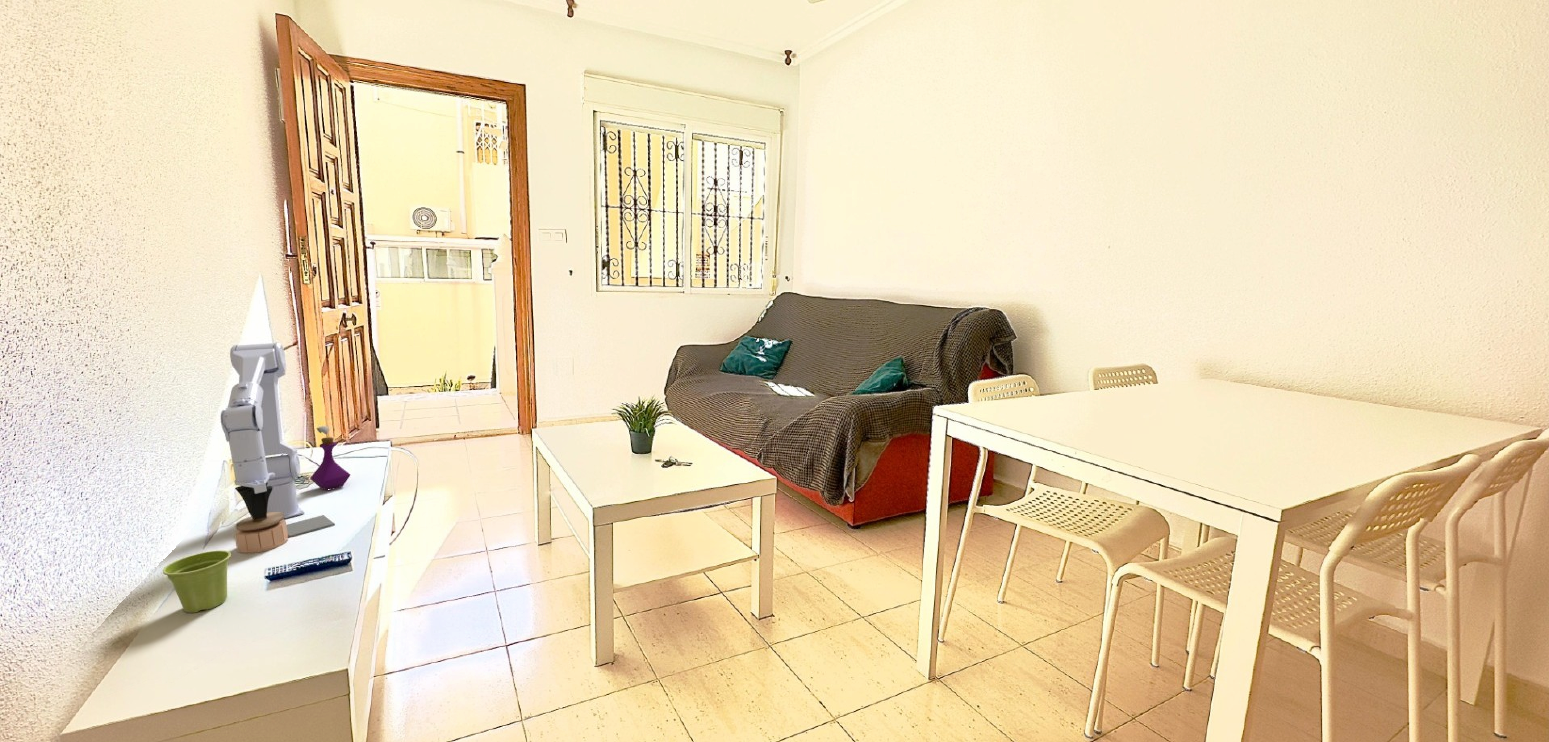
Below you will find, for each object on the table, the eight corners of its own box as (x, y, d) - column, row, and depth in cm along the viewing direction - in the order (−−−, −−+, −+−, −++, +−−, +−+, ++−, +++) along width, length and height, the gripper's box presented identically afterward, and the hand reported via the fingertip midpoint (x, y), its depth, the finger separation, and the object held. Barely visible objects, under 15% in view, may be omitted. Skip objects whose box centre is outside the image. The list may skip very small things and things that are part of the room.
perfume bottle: (352, 485, 185) (343, 425, 182) (323, 493, 179) (314, 431, 176) (340, 481, 189) (331, 422, 186) (311, 489, 183) (301, 428, 180)
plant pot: (198, 620, 114) (190, 575, 112) (157, 616, 116) (148, 571, 114) (251, 594, 123) (243, 551, 121) (212, 590, 125) (204, 548, 123)
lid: (232, 524, 144) (228, 504, 143) (277, 512, 151) (274, 493, 150) (242, 533, 139) (238, 512, 138) (288, 520, 145) (285, 500, 145)
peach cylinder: (233, 546, 145) (230, 528, 144) (282, 533, 152) (279, 515, 151) (242, 557, 139) (239, 538, 139) (292, 543, 146) (289, 524, 145)
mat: (280, 527, 155) (279, 526, 155) (323, 516, 162) (323, 514, 162) (289, 537, 149) (289, 535, 149) (334, 525, 156) (334, 523, 156)
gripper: (279, 459, 141) (288, 518, 143) (263, 449, 150) (272, 504, 152) (238, 468, 135) (248, 528, 137) (224, 456, 145) (234, 513, 147)
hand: (258, 516), depth 144 cm, fingers closed on lid, 2 cm apart
